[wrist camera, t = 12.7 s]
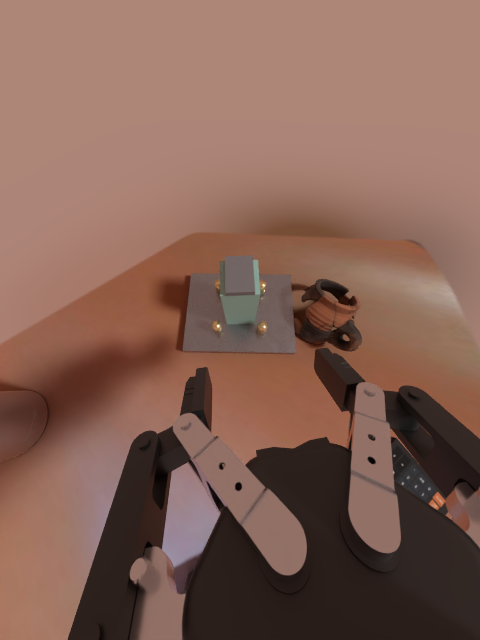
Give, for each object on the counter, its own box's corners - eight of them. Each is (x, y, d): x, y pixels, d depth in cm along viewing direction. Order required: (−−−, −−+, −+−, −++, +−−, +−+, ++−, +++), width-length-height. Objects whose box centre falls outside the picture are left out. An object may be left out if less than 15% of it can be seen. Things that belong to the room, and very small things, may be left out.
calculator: (447, 500, 26) (472, 515, 23) (389, 569, 24) (410, 595, 21) (392, 436, 28) (409, 442, 25) (335, 494, 26) (347, 508, 23)
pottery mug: (276, 315, 34) (298, 277, 29) (310, 307, 39) (334, 273, 34) (324, 372, 28) (364, 338, 23) (357, 353, 33) (396, 321, 28)
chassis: (185, 352, 32) (176, 347, 28) (193, 277, 36) (186, 263, 32) (293, 354, 32) (301, 349, 28) (288, 279, 36) (295, 265, 32)
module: (226, 324, 32) (219, 293, 21) (226, 299, 33) (219, 256, 22) (254, 323, 32) (261, 291, 21) (252, 298, 33) (258, 255, 22)
